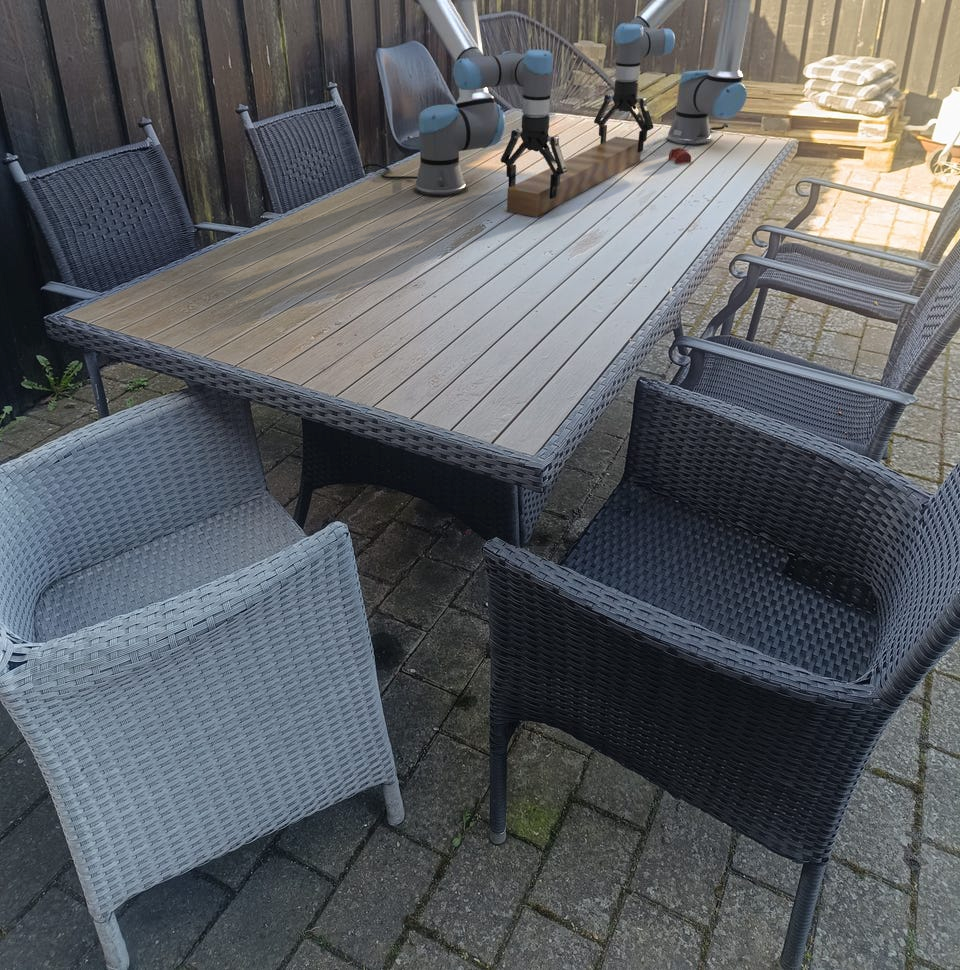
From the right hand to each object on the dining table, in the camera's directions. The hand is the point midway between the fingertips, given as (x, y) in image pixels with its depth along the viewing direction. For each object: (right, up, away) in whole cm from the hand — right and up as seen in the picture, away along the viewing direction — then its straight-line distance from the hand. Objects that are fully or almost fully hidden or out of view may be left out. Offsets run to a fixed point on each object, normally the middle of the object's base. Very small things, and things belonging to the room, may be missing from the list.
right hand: (621, 149), depth 281 cm
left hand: (-32, -29, -40) cm, 59 cm away
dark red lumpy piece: (+20, -3, +4) cm, 21 cm away
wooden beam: (-16, -18, -18) cm, 30 cm away
